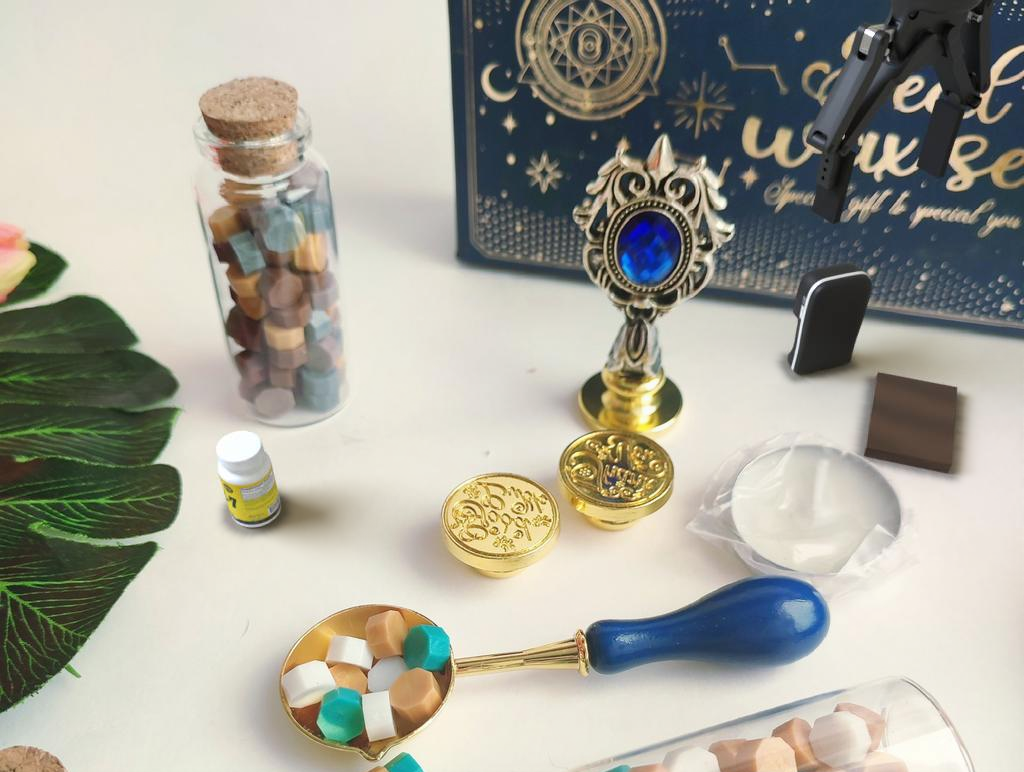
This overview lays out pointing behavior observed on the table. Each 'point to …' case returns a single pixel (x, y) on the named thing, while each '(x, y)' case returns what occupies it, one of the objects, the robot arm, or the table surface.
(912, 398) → the walnut board
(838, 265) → the battery charger
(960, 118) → the robot arm
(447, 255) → the table surface
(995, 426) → the table surface
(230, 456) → the supplement bottle
